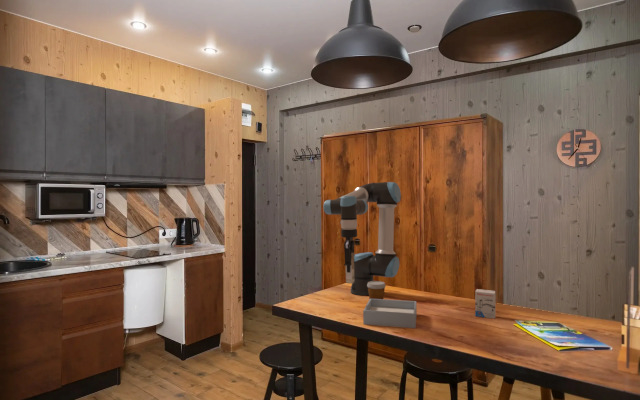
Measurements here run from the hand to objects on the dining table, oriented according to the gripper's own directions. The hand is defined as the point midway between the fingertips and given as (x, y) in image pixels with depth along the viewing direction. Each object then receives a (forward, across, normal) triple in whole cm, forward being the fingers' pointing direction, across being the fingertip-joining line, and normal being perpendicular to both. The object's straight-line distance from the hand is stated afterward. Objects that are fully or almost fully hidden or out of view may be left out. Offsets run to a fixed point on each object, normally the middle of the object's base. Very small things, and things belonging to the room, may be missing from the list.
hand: (350, 277), depth 179 cm
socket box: (+18, +1, +19) cm, 26 cm away
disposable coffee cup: (+18, -18, +10) cm, 28 cm away
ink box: (+19, -13, +61) cm, 65 cm away
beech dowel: (+2, 0, 0) cm, 2 cm away
